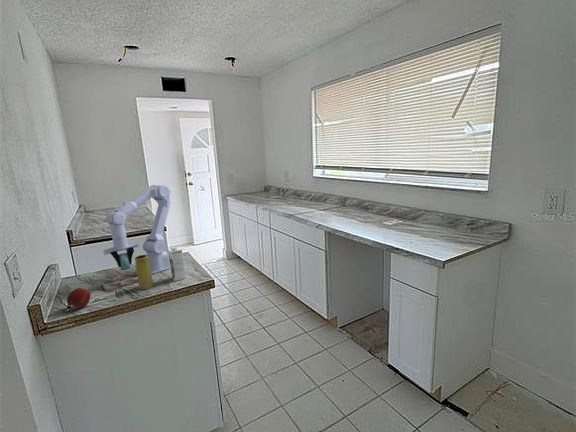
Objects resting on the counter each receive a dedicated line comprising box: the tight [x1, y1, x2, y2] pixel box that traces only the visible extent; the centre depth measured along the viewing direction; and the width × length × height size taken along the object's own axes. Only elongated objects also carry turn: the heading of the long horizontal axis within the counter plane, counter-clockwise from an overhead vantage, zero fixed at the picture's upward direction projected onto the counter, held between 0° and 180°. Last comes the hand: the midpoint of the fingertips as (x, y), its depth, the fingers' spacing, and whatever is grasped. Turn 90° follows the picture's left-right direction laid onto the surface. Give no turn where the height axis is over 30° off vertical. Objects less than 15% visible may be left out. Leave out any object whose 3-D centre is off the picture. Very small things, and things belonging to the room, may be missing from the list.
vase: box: [134, 254, 154, 290], centre depth 134 cm, size 6×6×14 cm
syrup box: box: [167, 246, 187, 282], centre depth 141 cm, size 6×6×14 cm
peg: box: [118, 252, 131, 271], centre depth 140 cm, size 4×4×7 cm
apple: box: [66, 287, 91, 309], centre depth 119 cm, size 7×8×8 cm
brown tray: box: [101, 271, 138, 293], centre depth 141 cm, size 15×11×2 cm
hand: (125, 265), depth 141 cm, fingers closed on peg, 4 cm apart
